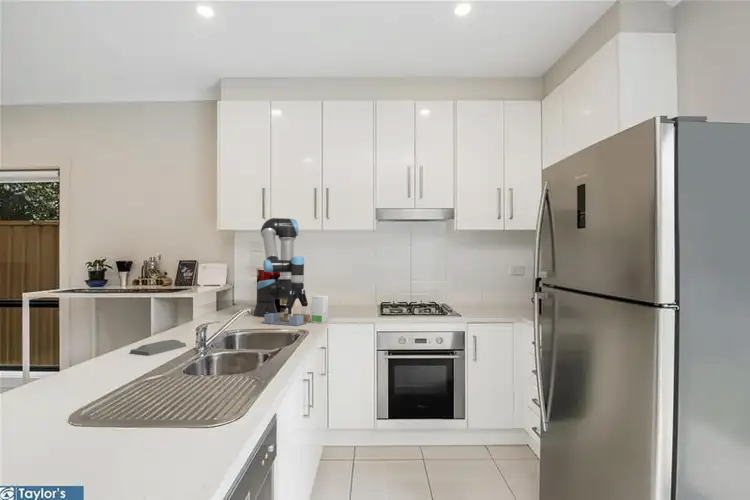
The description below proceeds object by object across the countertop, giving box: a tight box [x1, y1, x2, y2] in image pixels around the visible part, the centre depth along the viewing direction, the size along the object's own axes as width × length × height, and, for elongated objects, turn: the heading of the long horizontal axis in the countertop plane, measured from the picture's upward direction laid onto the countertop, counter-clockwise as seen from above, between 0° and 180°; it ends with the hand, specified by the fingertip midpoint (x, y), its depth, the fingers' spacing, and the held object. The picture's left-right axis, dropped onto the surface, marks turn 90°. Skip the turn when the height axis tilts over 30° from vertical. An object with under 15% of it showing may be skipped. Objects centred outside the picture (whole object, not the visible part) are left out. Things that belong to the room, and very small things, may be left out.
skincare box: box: [310, 295, 329, 324], centre depth 266 cm, size 8×7×16 cm
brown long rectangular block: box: [283, 312, 311, 324], centre depth 265 cm, size 4×16×5 cm, turn 68°
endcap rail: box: [261, 312, 307, 327], centre depth 258 cm, size 10×24×5 cm, turn 67°
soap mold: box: [129, 339, 187, 357], centre depth 182 cm, size 10×20×4 cm, turn 161°
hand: (296, 318), depth 265 cm, fingers open, 13 cm apart
